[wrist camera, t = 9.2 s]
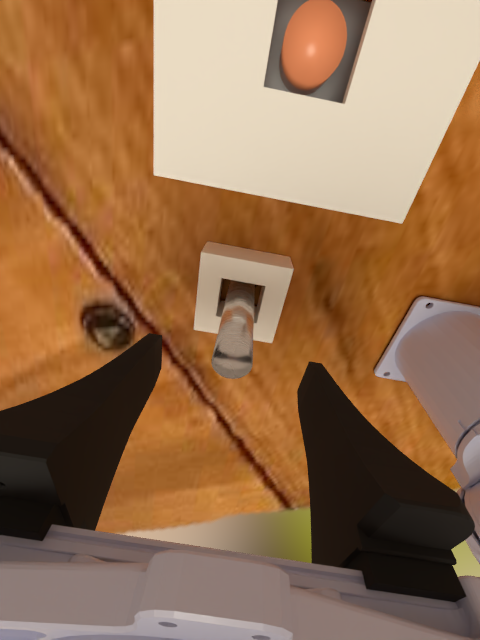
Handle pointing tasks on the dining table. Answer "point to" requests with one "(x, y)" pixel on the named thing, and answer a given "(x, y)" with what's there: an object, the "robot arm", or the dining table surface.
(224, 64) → the white slotted stand
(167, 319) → the dining table surface
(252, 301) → the stylus
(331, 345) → the dining table surface
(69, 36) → the dining table surface
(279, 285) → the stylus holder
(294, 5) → the button
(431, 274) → the dining table surface
